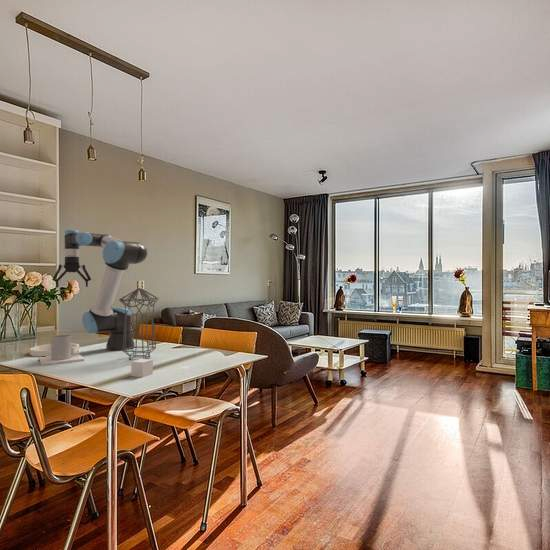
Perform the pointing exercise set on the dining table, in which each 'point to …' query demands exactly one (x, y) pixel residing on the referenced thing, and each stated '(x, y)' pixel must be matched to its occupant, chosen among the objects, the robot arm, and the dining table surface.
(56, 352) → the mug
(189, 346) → the dining table surface
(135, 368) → the pale pink cube
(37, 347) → the white plate
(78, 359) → the mat
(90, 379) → the dining table surface
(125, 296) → the geometric lantern
